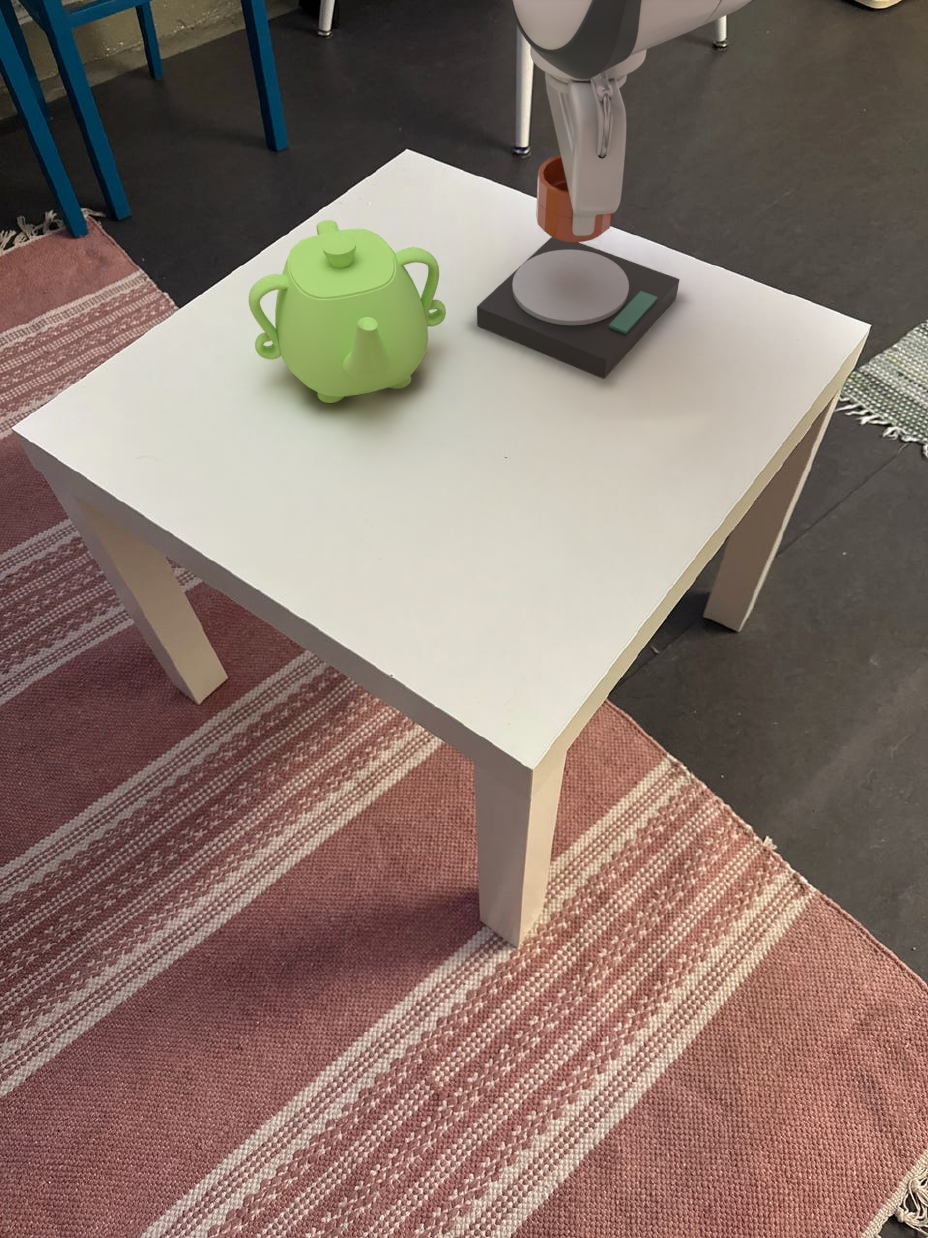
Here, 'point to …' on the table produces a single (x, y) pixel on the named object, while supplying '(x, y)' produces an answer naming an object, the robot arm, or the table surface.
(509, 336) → the scale
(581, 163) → the robot arm
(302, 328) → the teapot
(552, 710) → the table surface
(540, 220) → the orange cup
